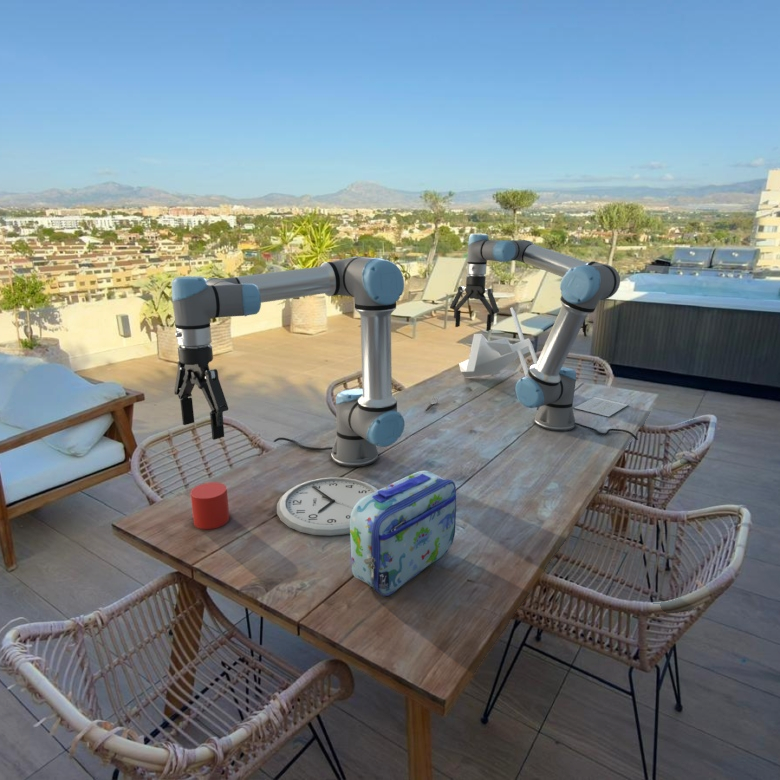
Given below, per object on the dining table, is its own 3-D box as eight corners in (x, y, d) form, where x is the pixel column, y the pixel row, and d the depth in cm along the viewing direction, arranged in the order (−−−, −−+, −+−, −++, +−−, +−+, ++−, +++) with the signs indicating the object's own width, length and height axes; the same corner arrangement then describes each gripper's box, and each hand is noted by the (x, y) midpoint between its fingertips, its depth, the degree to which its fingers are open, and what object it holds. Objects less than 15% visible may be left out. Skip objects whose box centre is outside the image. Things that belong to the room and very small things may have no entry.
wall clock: (392, 527, 129) (268, 531, 127) (391, 533, 130) (269, 537, 127) (383, 473, 158) (282, 475, 155) (383, 478, 158) (282, 480, 156)
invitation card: (608, 416, 214) (573, 407, 224) (608, 416, 214) (573, 408, 224) (628, 404, 229) (594, 396, 238) (628, 405, 229) (594, 397, 238)
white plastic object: (480, 419, 265) (459, 396, 241) (461, 346, 287) (441, 319, 263) (551, 395, 253) (536, 368, 228) (526, 321, 275) (510, 290, 251)
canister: (215, 508, 140) (213, 479, 138) (236, 518, 136) (233, 488, 133) (187, 521, 134) (183, 491, 131) (207, 533, 129) (204, 502, 126)
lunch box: (378, 608, 104) (379, 516, 98) (343, 583, 112) (342, 495, 105) (459, 554, 122) (465, 473, 116) (425, 535, 129) (428, 458, 123)
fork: (422, 411, 216) (422, 407, 215) (433, 400, 230) (433, 396, 230) (428, 412, 215) (429, 407, 215) (438, 401, 230) (439, 396, 229)
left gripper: (153, 339, 126) (163, 421, 132) (209, 356, 110) (217, 449, 117) (182, 335, 131) (190, 414, 138) (239, 351, 116) (246, 439, 122)
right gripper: (443, 273, 209) (441, 326, 215) (502, 277, 196) (498, 333, 203) (451, 272, 215) (449, 323, 221) (509, 276, 202) (505, 330, 209)
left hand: (203, 430), depth 127 cm, fingers open, 13 cm apart
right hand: (472, 328), depth 212 cm, fingers open, 13 cm apart
